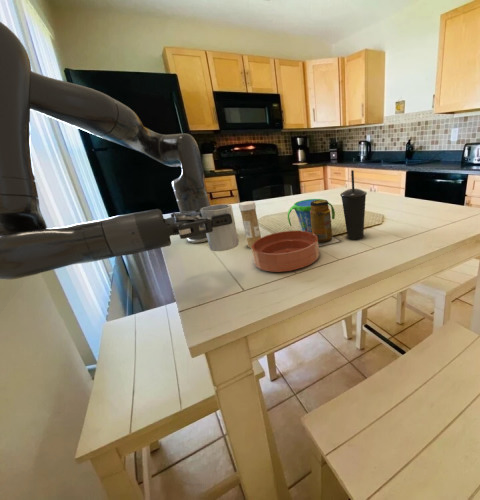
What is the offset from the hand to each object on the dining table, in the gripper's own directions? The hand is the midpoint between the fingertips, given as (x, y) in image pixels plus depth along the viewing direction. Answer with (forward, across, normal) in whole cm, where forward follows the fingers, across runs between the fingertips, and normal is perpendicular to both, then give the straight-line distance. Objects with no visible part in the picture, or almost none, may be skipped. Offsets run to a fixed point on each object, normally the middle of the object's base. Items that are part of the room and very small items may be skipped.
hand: (226, 215), depth 60 cm
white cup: (-2, 0, +7) cm, 7 cm away
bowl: (+13, 0, +15) cm, 19 cm away
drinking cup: (+36, 0, +15) cm, 39 cm away
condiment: (+27, +5, +15) cm, 31 cm away
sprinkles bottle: (+10, +16, +15) cm, 24 cm away
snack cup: (+29, +14, +15) cm, 36 cm away
